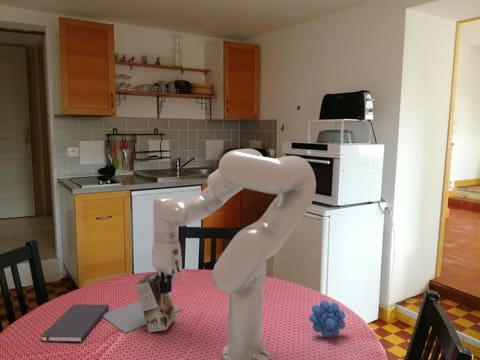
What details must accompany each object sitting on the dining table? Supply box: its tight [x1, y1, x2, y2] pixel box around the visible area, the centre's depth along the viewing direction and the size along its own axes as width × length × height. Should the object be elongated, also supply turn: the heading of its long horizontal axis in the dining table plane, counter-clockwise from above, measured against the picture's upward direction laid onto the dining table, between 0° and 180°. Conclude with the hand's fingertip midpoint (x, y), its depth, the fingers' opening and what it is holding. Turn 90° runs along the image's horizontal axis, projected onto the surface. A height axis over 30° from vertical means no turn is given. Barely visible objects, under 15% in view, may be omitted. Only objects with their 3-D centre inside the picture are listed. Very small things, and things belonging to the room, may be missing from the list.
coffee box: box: [135, 271, 178, 333], centre depth 127 cm, size 9×6×16 cm
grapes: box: [308, 300, 346, 338], centre depth 122 cm, size 12×7×12 cm, turn 96°
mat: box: [102, 300, 183, 334], centre depth 137 cm, size 16×22×1 cm
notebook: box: [40, 303, 110, 343], centre depth 128 cm, size 13×2×21 cm
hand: (165, 291), depth 125 cm, fingers closed
